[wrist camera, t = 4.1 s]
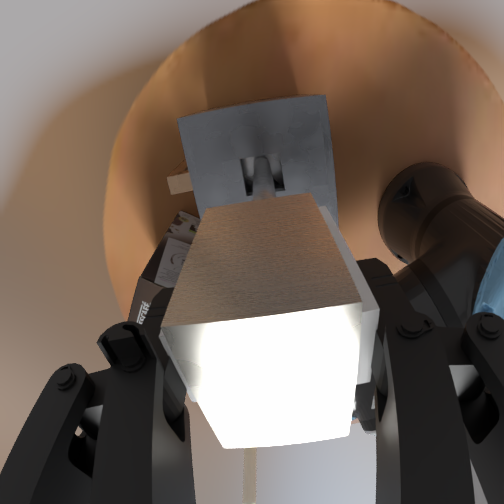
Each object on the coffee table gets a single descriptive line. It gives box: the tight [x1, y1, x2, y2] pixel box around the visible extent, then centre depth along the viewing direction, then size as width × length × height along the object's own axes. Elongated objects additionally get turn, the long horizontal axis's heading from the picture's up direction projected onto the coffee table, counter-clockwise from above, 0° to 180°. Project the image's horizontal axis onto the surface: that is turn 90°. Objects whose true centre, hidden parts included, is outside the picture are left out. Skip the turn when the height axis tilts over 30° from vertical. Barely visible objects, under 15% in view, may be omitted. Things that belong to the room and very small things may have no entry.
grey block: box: [167, 95, 339, 229], centre depth 30 cm, size 14×11×15 cm
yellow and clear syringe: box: [243, 447, 256, 504], centre depth 47 cm, size 10×10×27 cm
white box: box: [161, 153, 363, 448], centre depth 16 cm, size 9×9×23 cm
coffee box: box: [128, 211, 201, 325], centre depth 36 cm, size 9×6×16 cm
